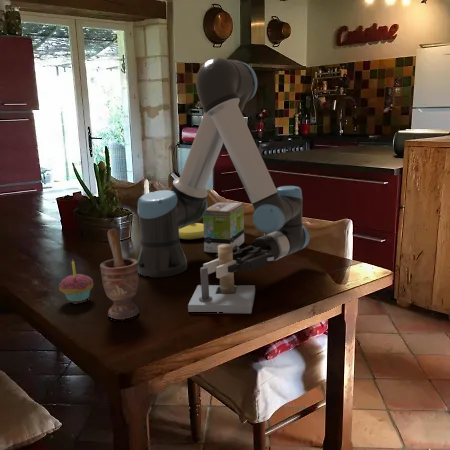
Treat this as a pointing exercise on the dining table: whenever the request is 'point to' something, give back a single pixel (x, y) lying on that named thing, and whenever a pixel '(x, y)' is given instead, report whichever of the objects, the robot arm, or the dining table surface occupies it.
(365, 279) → the dining table surface
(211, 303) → the board
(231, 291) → the dowel
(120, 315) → the mortar and pestle
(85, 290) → the cupcake
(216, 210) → the tea box
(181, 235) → the yellow pot lid
